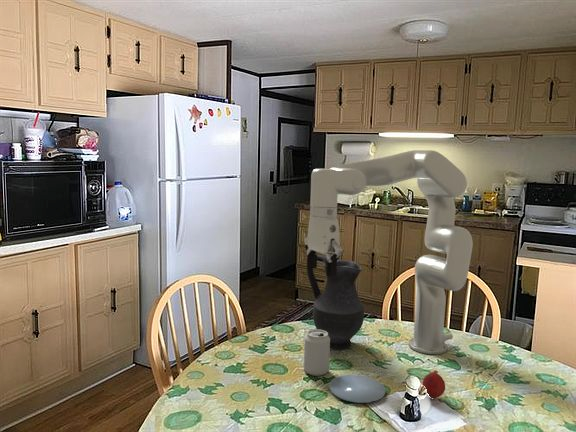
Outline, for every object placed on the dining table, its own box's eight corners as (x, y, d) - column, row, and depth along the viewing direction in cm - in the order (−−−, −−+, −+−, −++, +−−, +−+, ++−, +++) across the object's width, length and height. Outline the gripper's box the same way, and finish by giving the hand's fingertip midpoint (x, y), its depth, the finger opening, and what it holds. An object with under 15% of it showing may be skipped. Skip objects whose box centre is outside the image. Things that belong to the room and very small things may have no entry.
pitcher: (349, 359, 151) (353, 266, 147) (293, 344, 162) (295, 257, 158) (370, 342, 166) (374, 257, 162) (317, 329, 176) (320, 249, 173)
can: (327, 378, 138) (328, 338, 136) (301, 375, 139) (302, 335, 138) (330, 367, 145) (331, 329, 144) (305, 364, 147) (306, 326, 145)
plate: (362, 374, 141) (363, 370, 141) (396, 397, 128) (396, 393, 128) (319, 384, 134) (319, 380, 134) (350, 410, 121) (350, 406, 121)
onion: (432, 406, 124) (434, 376, 123) (416, 396, 129) (418, 367, 128) (448, 401, 127) (451, 372, 126) (433, 391, 132) (434, 363, 131)
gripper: (353, 215, 130) (350, 277, 132) (317, 208, 144) (315, 264, 147) (330, 216, 126) (327, 280, 128) (296, 209, 141) (294, 266, 143)
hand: (321, 271), depth 137 cm, fingers open, 9 cm apart
